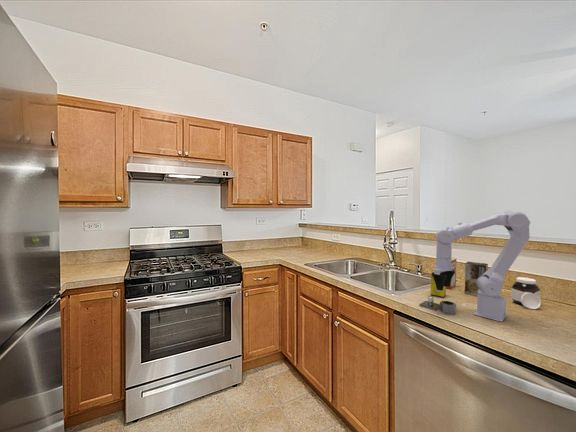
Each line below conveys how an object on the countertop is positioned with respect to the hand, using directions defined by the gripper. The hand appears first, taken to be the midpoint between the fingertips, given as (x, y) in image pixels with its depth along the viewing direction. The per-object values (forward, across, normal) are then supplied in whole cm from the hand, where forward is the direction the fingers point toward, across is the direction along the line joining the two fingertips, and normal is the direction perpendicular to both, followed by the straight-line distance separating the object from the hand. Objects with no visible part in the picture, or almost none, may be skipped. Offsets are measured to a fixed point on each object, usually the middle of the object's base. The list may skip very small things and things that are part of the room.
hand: (443, 288), depth 117 cm
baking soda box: (+10, -38, -12) cm, 41 cm away
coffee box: (+10, -35, +3) cm, 37 cm away
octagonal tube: (+9, +2, +3) cm, 10 cm away
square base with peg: (+9, 0, -5) cm, 11 cm away
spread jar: (+10, -36, +23) cm, 44 cm away
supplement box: (+10, -18, -9) cm, 22 cm away
